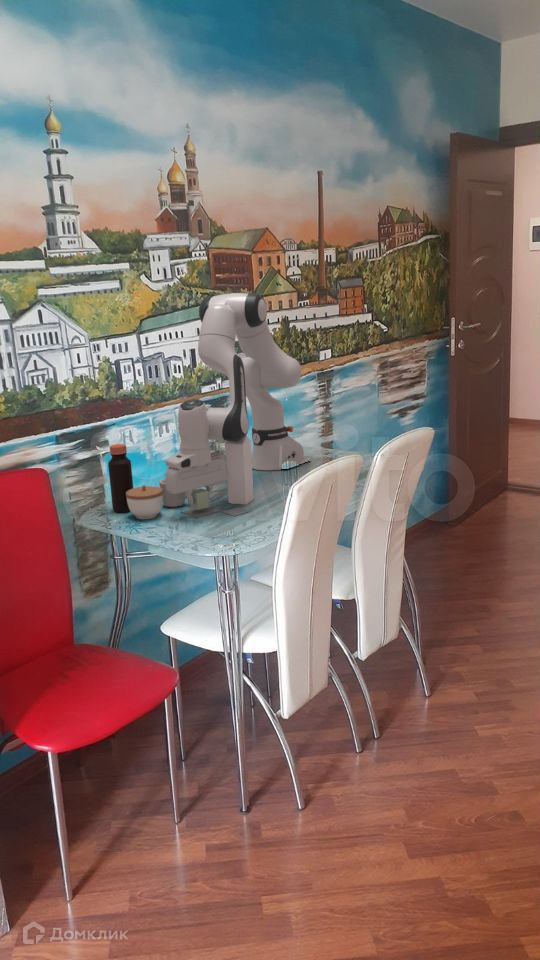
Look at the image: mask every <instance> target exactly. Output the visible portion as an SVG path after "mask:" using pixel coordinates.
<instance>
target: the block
mask: <svg viewBox="0 0 540 960" xmlns="http://www.w3.org/2000/svg"><path fill="white" fill-rule="evenodd" d="M191 496H192V497H193V498H195V502H196V503H195V504H192V505H190V504H189V506H190V508H191V509H193V508H194V509H197V510H199V509H203V508H207V507H208V508H210V500H209V497H208V490H206V489H204V488H202V487H201V488H197V489H195V490H192V493H191Z"/></svg>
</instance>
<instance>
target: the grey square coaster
mask: <svg viewBox="0 0 540 960" xmlns="http://www.w3.org/2000/svg"><path fill="white" fill-rule="evenodd" d="M222 512H223V514H225V513H226V514H227V515H228V514H229V516H232V517H236V516H237V517H238V516H241V515H245V514H247V513H251V510H249V509H244V508H243V507H238V506H237V507H233V508H231V509H230V508H229V509H227V510H223V511H222Z"/></svg>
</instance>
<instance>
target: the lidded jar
mask: <svg viewBox="0 0 540 960" xmlns="http://www.w3.org/2000/svg"><path fill="white" fill-rule="evenodd" d="M162 493H163V490H162V489H161V488H160V486H155V485H153V486H152V485H149V486H146V485H145V484H144V485H141V486H138V487H133V489H130V490H128V491H127V492H126V497H127V504H128V507H129V510H130V512H131V514H132V515H133V516H135V518H136V519H138V520H149V519H154V518H156V517H158V514H159V513H160V511H161V510H162V508H163V504H164V503H163V494H162Z"/></svg>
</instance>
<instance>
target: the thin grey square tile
mask: <svg viewBox="0 0 540 960" xmlns="http://www.w3.org/2000/svg"><path fill="white" fill-rule="evenodd" d="M218 511H219V510H218V509H215V508H211V507H207V508H203V509H199V510H197V509H194V508H191V509H186V510H183V511H181V512H182V513H181V514H184V513H185V515H187V514H188V516H191V517H193V516H194V517H193V518H196V517H198V518H200V517H204V515H205V516H208V515H211V514H214V513H218Z"/></svg>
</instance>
